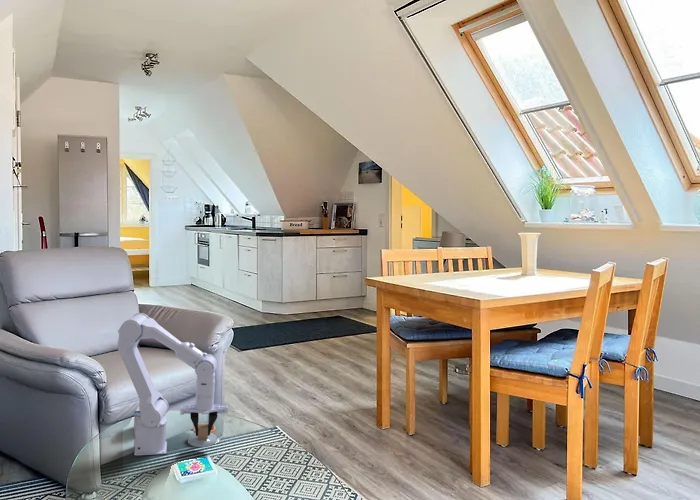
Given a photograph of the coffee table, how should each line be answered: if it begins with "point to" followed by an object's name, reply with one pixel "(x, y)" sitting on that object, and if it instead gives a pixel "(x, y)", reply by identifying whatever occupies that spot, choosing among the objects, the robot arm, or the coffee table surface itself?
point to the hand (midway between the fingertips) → (202, 434)
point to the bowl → (211, 429)
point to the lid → (202, 437)
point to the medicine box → (137, 418)
